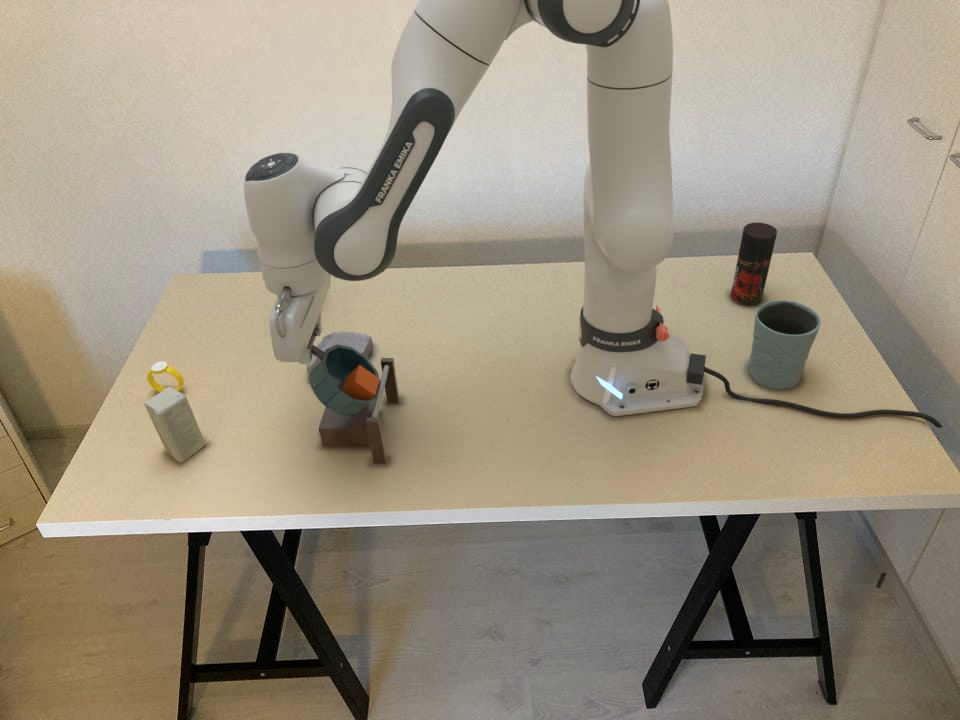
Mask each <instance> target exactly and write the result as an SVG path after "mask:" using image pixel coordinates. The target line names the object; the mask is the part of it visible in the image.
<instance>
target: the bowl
mask: <svg viewBox="0 0 960 720" xmlns="http://www.w3.org/2000/svg"><path fill="white" fill-rule="evenodd" d="M316 338H317V336H316V333H315V332H314V331H313V333H312V335H311V338H310V341H309V343H308V346H307V348H308V349H311V352H312V354H313V355H314V356H316V357H318V358H317V359H316V360H315V361H314V363H313V365H312V366H311V368H310V371H309V375H308V381H309V385H310V388H311V390H312V392H313V394H314V396H315V397H316V398H317V400H318V401H319V402H320V403H321V404H322V405H323V406H324V408H325V407H327V408H328V409H329V410H331V411H333V412H334V413H336V414H339V415H342V416H346V417H353V416H357V415H359V414H360V413H362V412H363V411H365V410H366V409H367V408H368V407H370V406H371V405H372V404H373V403H374V402H375V405H374V409H373V413H372V417H378V413H379V414H380V408H381V404H382V401H383V396H384V392H385V384H386V380H387V375H388V371H389V366H388V365H385V366H384V368H383V372H382V371H381V372H382V373H381V377H380V376H379V372H378V370H377V369H376V367H375V366H374V365H373V363H372V362H371V361H370V360H369V358H367V357H366V356H364V355H363V354H361V353H360V352H358V351H357V350H355V349H354V348H352V347H348V346H343V345H339V344H337V345H334V346H332V347H330V348H327V349H326V350H325V351H322V350H321V349H319V348H317V345H314V343H315V340H316ZM359 365H360V366H362V367H363V368H365V369H366V370H368V371H369V372H371V373H372V374H374V375H375V376H377V377H378V378H380V379H379V383H378V387H377V391H376V395H375V396H374V397H373V398H371V399H369V400H368V401H364V400H357V399H353V398H352V397H350V396H348V395H347V394H345V393H344V392H342V391H341V390H342V387H343V384H344V381H345V378H346V377H347V376H348V375H349V374H350V373H352V372H353V371H354V370H355V369H356V368H357V367H358V366H359Z"/></svg>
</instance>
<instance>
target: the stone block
mask: <svg viewBox="0 0 960 720" xmlns="http://www.w3.org/2000/svg"><path fill="white" fill-rule="evenodd" d="M337 344H339V345H343V346H348V347H352V348H354V349H355V350H357V351H358V352H360V353H361V354H363V355H364V356H366V357H367V359H369V356H370V355H371V352H372V350H373V348H374V342H373V338H372V336H371V334H370V335H369V334H366V333H361V332H354V331H347V330H346V331H345V330H341V331H333V332H332V333H329V334H327V335H324V336H323V338H322V340H321V341H320V342H319V343H318V344H316V347H317V348H319V349H321V350H322V351H325V350H326V349H327V348H330V347H332V346H334V345H337ZM317 358H318V357H316V356H314V355H313V354H312V359H311V362H310V364H306V367H305V368H306V373H307V375H308V376H309V371H310V368H311V366H312V365H313V363H314V361H315V360H316V359H317Z"/></svg>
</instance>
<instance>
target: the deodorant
mask: <svg viewBox="0 0 960 720" xmlns="http://www.w3.org/2000/svg"><path fill="white" fill-rule="evenodd" d="M777 235H778V229H777V228H776V227H775V226H773V225H771V224H768V223H765V222H750V223H747V224H746V225H744V226H743V229H742V235H741V240H740V246H739V250H738V255H737V260H736V265H735V269H734V270H735V272H734V276H733V281H732V287H731V290H730V300H731V301H732V302H733V303H735V304H737V305H739V306H741V307H742V306H744V307H755V306H758V305H759V304H761V302H763V297H764V292H765V288H766V283H767V279H768V274H769V272H770V271H769V270H770V265H771V261H772V257H773V251H774V248H775V244H776V240H777Z"/></svg>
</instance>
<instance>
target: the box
mask: <svg viewBox="0 0 960 720" xmlns="http://www.w3.org/2000/svg"><path fill="white" fill-rule="evenodd" d="M165 388H166V389H165V390H163V391H162V392H158V393H157V394H156V395H154V396H152V397H151V398H149V399H148V400H146V401H144V403H143V405H144V407H145V409H146V411H147V414H148V415H149V418H150V420H151V422H152V425H153V426H154V429H155V430H156V432H157V435H158V437H159V439H160V441H161V443H162V446H163V447H164V450H165V452H166V453H167V454H169V456H171V457H172V458H174V459H175V460H176V461H178V462H179V463H183V462H184V461H186V460H188V459H189V458H191V456H193V455H195V454H196V453H197V452H199V451H200V450H201V449H202V448H204V447H205V446H206V445H207V444H206V441H205V439H204V438H205V437H204V436H203V434H202V432H201V429H200V427H199V425H198V422H197V419H196V417H195V415H194V411H193V410H192V407H191V405H190V403H189V400H188V398H187V395H185V394H183V393H182V392H181V391H178V390H176V389H174V388H175V387H172V386H171V385H170V386H167V387H165Z"/></svg>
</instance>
